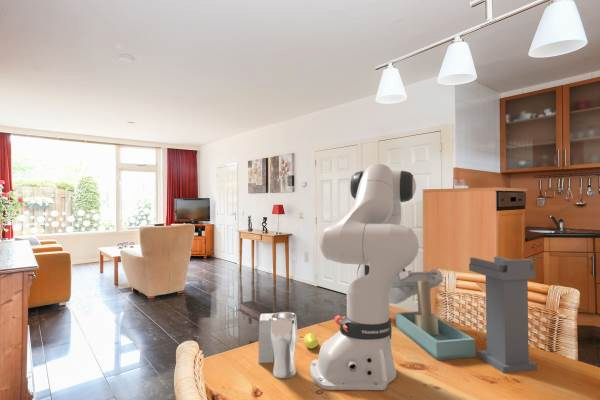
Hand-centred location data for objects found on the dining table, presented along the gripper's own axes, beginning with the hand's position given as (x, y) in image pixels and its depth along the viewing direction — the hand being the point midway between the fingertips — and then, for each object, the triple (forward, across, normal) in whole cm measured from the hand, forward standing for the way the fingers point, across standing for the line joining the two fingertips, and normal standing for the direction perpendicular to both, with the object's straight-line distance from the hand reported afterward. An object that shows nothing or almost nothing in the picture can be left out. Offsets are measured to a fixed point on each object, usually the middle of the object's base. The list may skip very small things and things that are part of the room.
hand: (422, 272), depth 113 cm
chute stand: (+7, +12, +28) cm, 31 cm away
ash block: (-6, 0, +10) cm, 11 cm away
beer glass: (+4, -49, +27) cm, 56 cm away
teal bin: (-6, 0, +20) cm, 21 cm away
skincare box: (-4, -53, +22) cm, 58 cm away
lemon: (-9, -39, +20) cm, 45 cm away
